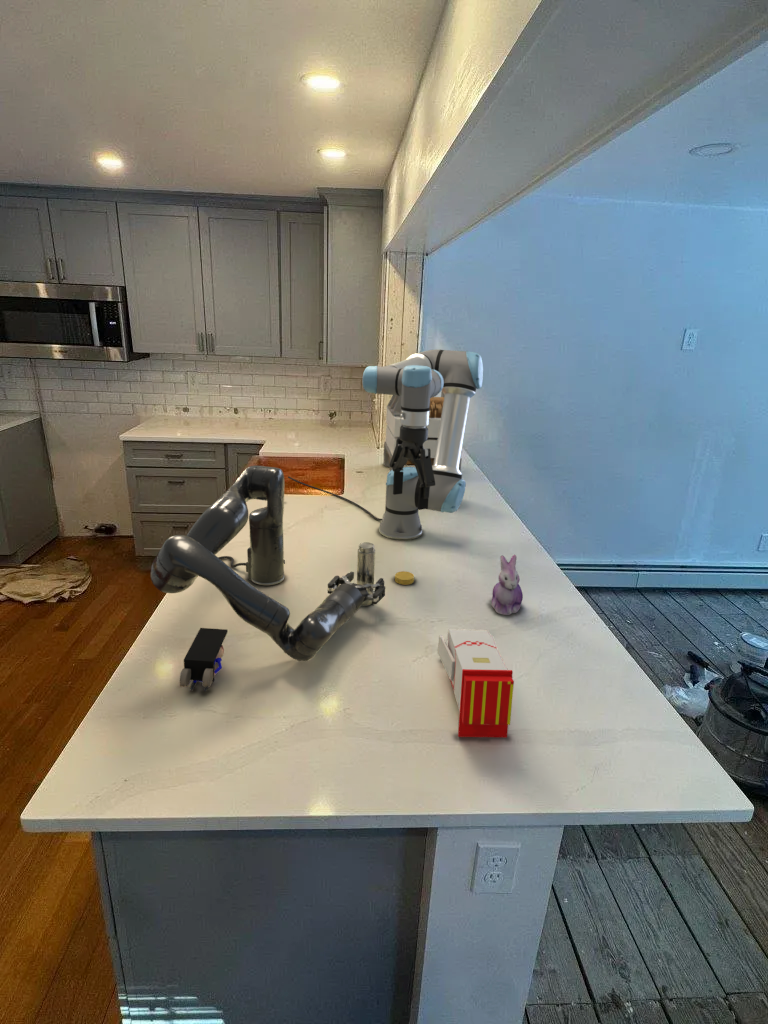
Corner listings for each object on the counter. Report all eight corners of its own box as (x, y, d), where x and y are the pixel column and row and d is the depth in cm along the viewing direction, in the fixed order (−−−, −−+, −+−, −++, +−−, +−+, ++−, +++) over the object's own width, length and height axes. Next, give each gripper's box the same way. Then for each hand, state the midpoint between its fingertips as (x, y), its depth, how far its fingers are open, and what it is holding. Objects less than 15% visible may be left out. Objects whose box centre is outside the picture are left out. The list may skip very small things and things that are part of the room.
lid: (408, 586, 162) (408, 581, 162) (391, 581, 165) (391, 576, 164) (417, 579, 167) (417, 574, 166) (400, 574, 169) (400, 569, 169)
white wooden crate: (382, 463, 289) (386, 382, 275) (445, 464, 293) (451, 384, 279) (390, 482, 257) (394, 392, 243) (460, 483, 261) (468, 394, 247)
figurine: (504, 619, 147) (511, 567, 142) (480, 601, 155) (486, 551, 150) (532, 612, 151) (540, 561, 146) (508, 595, 159) (514, 546, 154)
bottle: (354, 604, 151) (356, 547, 146) (358, 596, 155) (359, 540, 150) (371, 606, 151) (373, 549, 145) (374, 598, 155) (376, 542, 149)
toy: (488, 613, 130) (523, 677, 101) (484, 667, 133) (517, 744, 104) (435, 612, 130) (455, 676, 101) (432, 666, 133) (451, 743, 103)
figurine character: (214, 702, 114) (231, 653, 127) (210, 673, 110) (228, 625, 124) (180, 702, 114) (200, 652, 127) (175, 673, 110) (197, 625, 124)
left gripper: (314, 611, 141) (343, 585, 155) (367, 625, 136) (391, 596, 151) (314, 584, 139) (343, 560, 153) (368, 597, 134) (392, 570, 148)
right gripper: (379, 417, 159) (376, 489, 166) (427, 437, 139) (422, 517, 146) (402, 416, 163) (399, 486, 170) (452, 434, 142) (446, 513, 150)
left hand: (367, 578), depth 152 cm, fingers open, 8 cm apart
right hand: (409, 501), depth 158 cm, fingers open, 13 cm apart
